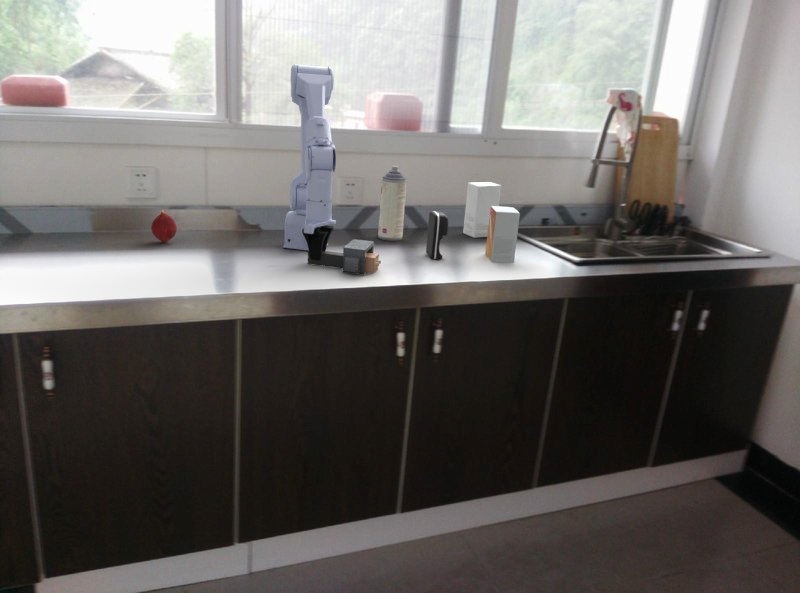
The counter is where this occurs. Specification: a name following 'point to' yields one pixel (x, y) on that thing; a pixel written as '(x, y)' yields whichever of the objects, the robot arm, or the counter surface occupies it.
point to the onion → (164, 227)
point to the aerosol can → (392, 205)
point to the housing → (356, 256)
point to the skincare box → (480, 207)
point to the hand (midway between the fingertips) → (317, 258)
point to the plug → (337, 260)
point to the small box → (502, 234)
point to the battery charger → (436, 233)
